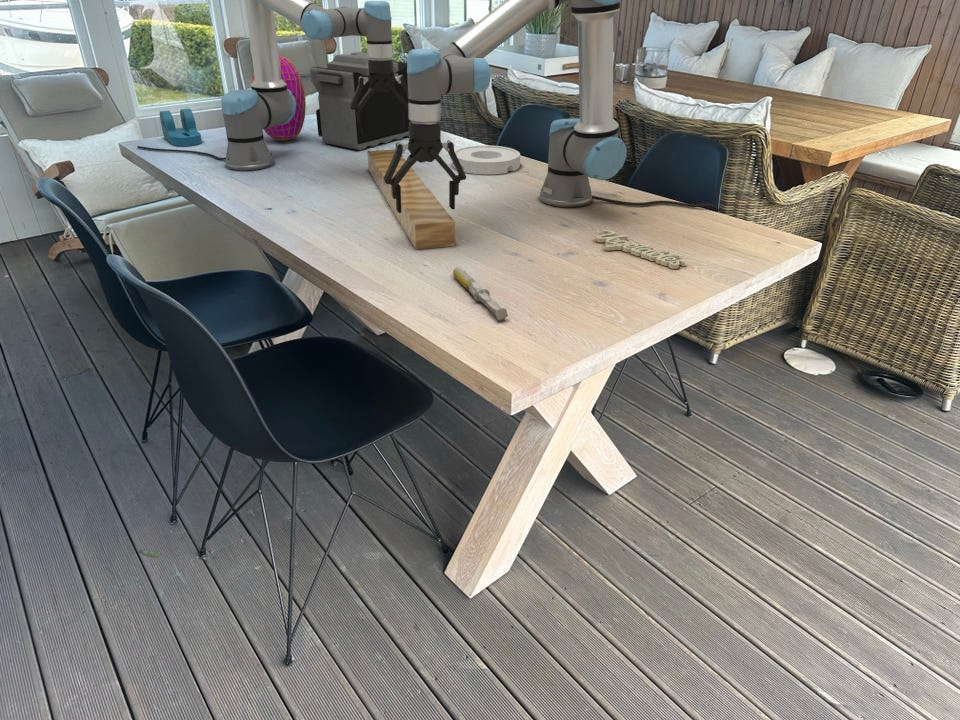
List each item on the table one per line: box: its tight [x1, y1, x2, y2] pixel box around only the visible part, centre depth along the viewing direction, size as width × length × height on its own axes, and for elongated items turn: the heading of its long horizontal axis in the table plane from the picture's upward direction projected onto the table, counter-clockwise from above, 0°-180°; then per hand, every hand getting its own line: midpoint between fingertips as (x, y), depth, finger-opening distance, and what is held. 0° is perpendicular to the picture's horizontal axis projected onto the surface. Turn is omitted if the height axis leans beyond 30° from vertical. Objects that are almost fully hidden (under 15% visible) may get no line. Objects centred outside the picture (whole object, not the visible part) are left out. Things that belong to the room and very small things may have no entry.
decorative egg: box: [251, 54, 307, 142], centre depth 257 cm, size 19×19×30 cm
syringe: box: [452, 266, 509, 321], centre depth 145 cm, size 25×4×3 cm, turn 21°
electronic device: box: [309, 51, 410, 151], centre depth 260 cm, size 37×22×30 cm, turn 144°
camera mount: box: [159, 108, 203, 147], centre depth 259 cm, size 18×10×10 cm, turn 35°
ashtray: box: [452, 144, 521, 176], centre depth 235 cm, size 23×23×4 cm
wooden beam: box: [366, 148, 456, 251], centre depth 198 cm, size 74×10×6 cm, turn 17°
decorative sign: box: [595, 229, 686, 270], centre depth 168 cm, size 26×1×10 cm
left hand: (384, 131), depth 217 cm, fingers open, 13 cm apart
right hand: (425, 209), depth 172 cm, fingers open, 13 cm apart
